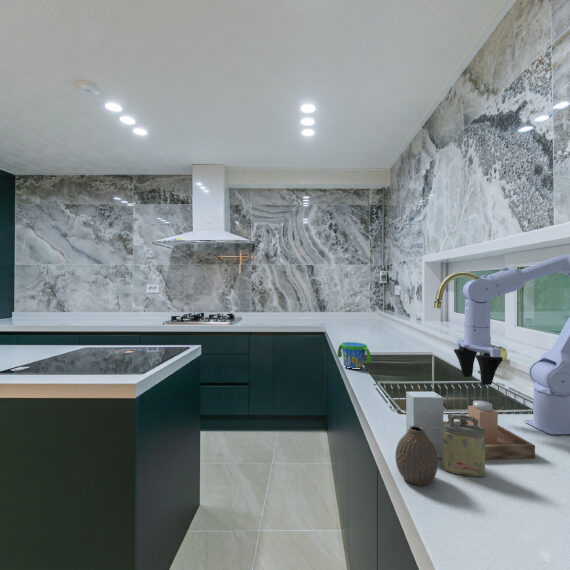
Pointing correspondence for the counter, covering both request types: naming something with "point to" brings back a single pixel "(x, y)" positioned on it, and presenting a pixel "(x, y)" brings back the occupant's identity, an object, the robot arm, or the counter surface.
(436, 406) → the skincare box
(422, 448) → the vase
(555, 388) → the robot arm
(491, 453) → the tray
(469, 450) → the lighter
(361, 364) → the snack cup
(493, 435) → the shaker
